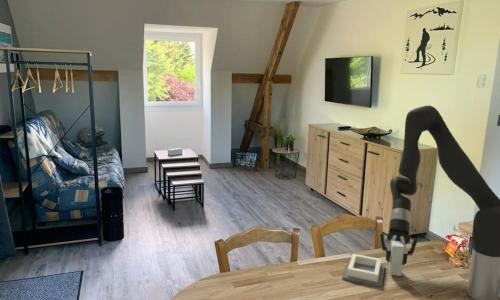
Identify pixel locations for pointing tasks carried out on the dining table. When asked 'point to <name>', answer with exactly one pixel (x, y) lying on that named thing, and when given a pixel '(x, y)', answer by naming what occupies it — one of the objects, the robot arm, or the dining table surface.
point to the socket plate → (364, 270)
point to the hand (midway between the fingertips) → (395, 263)
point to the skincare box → (396, 258)
